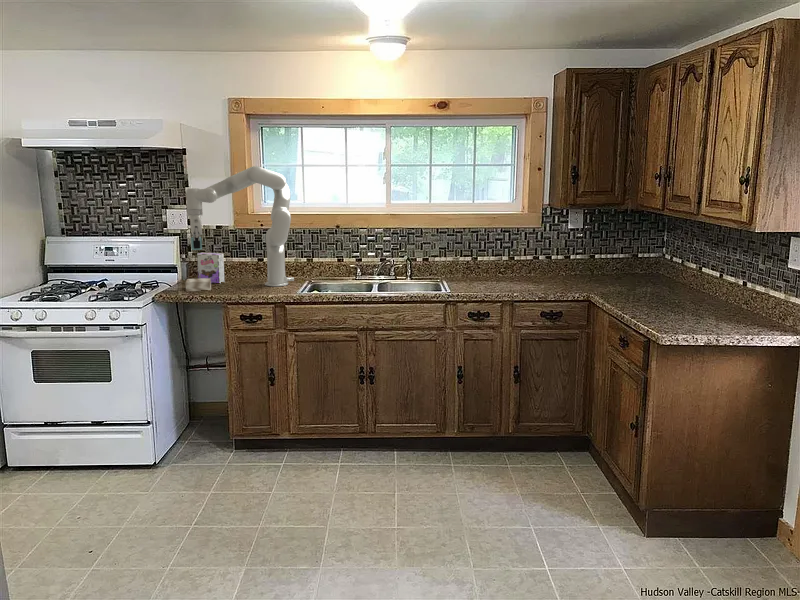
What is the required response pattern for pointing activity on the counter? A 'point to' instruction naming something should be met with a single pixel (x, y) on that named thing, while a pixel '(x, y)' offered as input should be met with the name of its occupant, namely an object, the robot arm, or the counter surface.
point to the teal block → (193, 244)
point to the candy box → (211, 266)
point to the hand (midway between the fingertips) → (196, 247)
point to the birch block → (198, 284)
